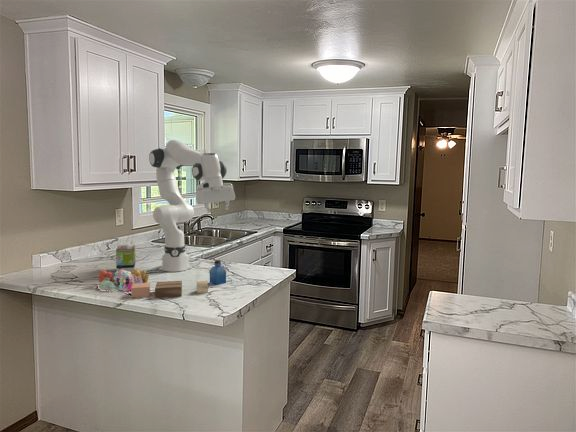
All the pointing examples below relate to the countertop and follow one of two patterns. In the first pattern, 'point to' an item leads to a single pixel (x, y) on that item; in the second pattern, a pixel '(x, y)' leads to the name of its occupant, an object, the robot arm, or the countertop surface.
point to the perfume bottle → (217, 273)
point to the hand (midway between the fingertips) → (218, 211)
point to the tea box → (125, 258)
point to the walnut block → (168, 289)
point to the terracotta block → (140, 290)
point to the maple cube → (202, 286)
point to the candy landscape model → (122, 279)
